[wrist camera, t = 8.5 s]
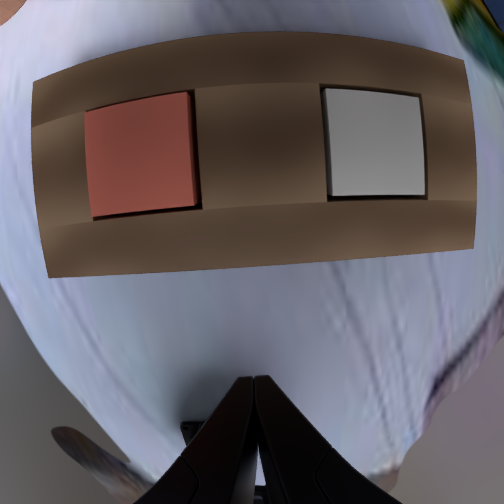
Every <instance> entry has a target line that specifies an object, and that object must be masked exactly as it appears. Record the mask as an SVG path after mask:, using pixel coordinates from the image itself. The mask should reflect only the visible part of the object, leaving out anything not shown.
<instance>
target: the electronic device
mask: <svg viewBox="0 0 504 504" xmlns="http://www.w3.org/2000/svg"><path fill="white" fill-rule="evenodd" d="M483 1H484V3H485V4H486V6H487V8H488V9H489V11H490V13H491V14H492V16H493V18H494V19H495V21H496V23H497V25H498V26H499V28H500V29H501V31H502V32H504V0H483Z"/></svg>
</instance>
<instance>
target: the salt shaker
mask: <svg viewBox="0 0 504 504" xmlns="http://www.w3.org/2000/svg"><path fill="white" fill-rule="evenodd" d="M25 1H26V0H0V25H2V24H3V23H5V22H6V21H8V20H9V19H10V18H11V17H12V16H13V15H14V14H15V13H16V12H17V11H18V10H19V9H20V7H21V6H22V5H23V4H24V3H25Z"/></svg>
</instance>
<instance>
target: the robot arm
mask: <svg viewBox="0 0 504 504" xmlns="http://www.w3.org/2000/svg"><path fill="white" fill-rule="evenodd" d="M180 428H181V432H182V435H183V438H184V441H185V443H186V446H187V447H186V448H185V449H184V450H183V452H182V453H181V456H179V457H178V458H177V459H176V460H175V462H174V463H173V464H172V465H171V467H170V468H169V469H168V470H167V471H166V472H165V474H164V475H163V476H162V477H161V478H160V479H159V480H158V481H157V482H156V483H155V484H154V485H153V486H152V487H151V488H150V489H149V490H148V491H147V492H146V493H145V494H143V495H142V496H141V497H140V498H139V499H138V500H137V501H135V502H134V503H133V504H402V503H401V502H399V501H398V500H396V499H395V498H394V497H392V496H391V495H389V494H388V493H386V492H385V491H383V490H382V489H381V488H379V487H378V486H376V485H375V484H374V483H372V482H371V481H370V480H368V479H367V478H366V477H365V476H363V475H362V474H361V473H359V472H358V471H357V470H356V469H355V468H354V467H352V466H351V465H350V464H349V463H348V462H347V461H346V460H345V459H344V458H343V457H342V456H341V455H340V454H339V453H338V452H337V451H336V450H335V449H334V448H332V446H331V444H330V443H329V442H328V441H327V440H326V439H325V438H324V437H323V436H322V435H321V434H320V433H319V432H318V430H317V429H316V428H315V427H314V426H313V425H312V424H311V423H310V422H309V421H308V419H307V418H306V417H305V416H304V415H303V414H302V413H301V412H300V410H299V409H298V408H297V407H296V406H295V405H294V404H293V403H292V401H291V400H290V399H289V398H288V397H287V396H286V394H285V393H284V392H283V391H282V390H281V389H280V388H279V386H278V385H277V384H276V383H275V382H274V380H273V379H272V378H271V377H270V376H269V375H260V376H255V377H254V379H253V377H252V376H244V377H238V378H237V379H236V380H235V382H234V383H233V385H232V386H231V388H230V389H229V390H228V392H227V393H226V394H225V396H224V397H223V399H222V400H221V401H220V403H219V404H218V405H217V407H216V408H215V410H214V411H213V412H212V414H211V415H210V416H209V418H208V419H207V420H206V422H182V423H181V426H180ZM258 447H259V454H260V459H261V464H262V468H263V473H264V477H265V482H266V485H265V486H261V485H255V479H256V469H257V458H258Z"/></svg>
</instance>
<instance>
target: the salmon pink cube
mask: <svg viewBox="0 0 504 504" xmlns="http://www.w3.org/2000/svg"><path fill="white" fill-rule="evenodd" d="M84 127H85V154H86V169H87V181H88V192H89V201H90V210H91V217H95V216H102V215H110V214H118V213H127V212H135V211H144V210H153V209H163V208H173V207H183V206H194V205H196V204H197V203H199V202H200V201H202V193H201V181H200V168H199V153H198V138H197V121H196V104H195V103H194V101H193V100H192V98H191V97H190V96H189V94H188V93H187V92H182V93H175V94H168V95H162V96H156V97H151V98H145V99H140V100H135V101H130V102H126V103H121V104H117V105H112V106H108V107H104V108H100V109H96V110H92V111H89V112H85V113H84Z"/></svg>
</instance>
